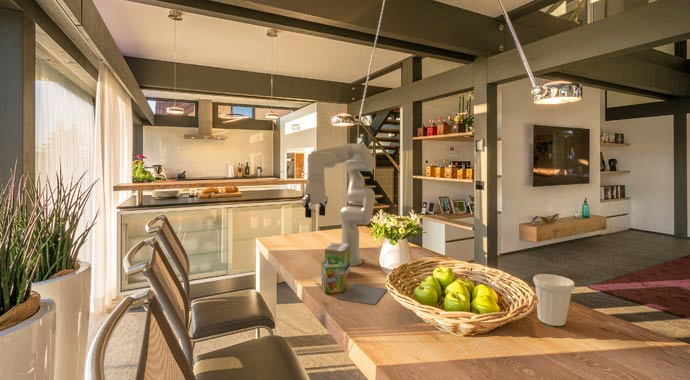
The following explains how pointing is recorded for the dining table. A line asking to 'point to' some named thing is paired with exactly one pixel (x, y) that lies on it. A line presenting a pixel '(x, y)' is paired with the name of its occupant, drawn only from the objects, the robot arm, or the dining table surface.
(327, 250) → the tea box
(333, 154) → the robot arm
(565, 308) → the cup
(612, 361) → the dining table surface
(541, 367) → the dining table surface
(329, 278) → the chalk box
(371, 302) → the mat
